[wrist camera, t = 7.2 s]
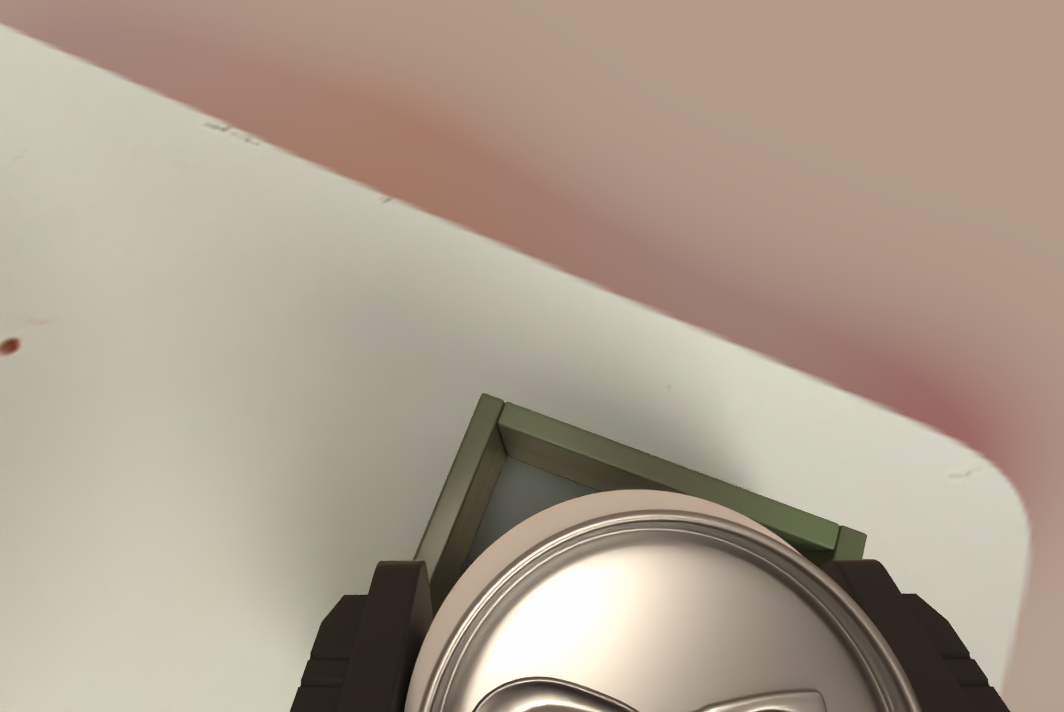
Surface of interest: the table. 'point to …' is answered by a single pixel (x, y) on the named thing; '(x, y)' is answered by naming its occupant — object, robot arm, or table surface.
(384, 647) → the robot arm
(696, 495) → the caddy
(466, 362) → the table surface
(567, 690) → the can
